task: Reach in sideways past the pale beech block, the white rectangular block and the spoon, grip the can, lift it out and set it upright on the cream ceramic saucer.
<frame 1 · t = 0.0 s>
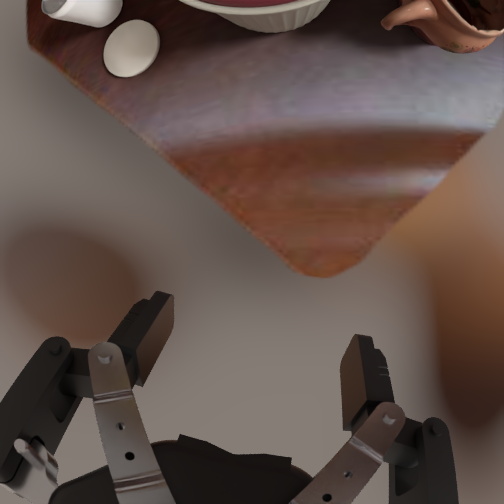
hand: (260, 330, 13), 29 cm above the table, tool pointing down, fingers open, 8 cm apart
can: (107, 10, 30), on the table
decorative planter: (423, 20, 25), on the table
cream saucer: (132, 48, 33), on the table
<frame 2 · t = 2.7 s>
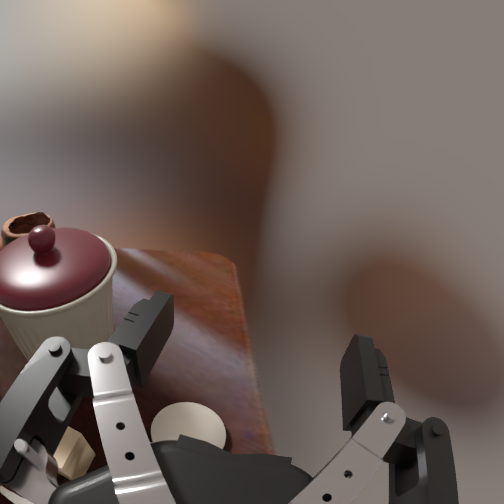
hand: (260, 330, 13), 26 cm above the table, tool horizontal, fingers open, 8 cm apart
white rectangular block: (48, 502, 17), on the table
beech block: (70, 460, 23), on the table
canister: (73, 358, 37), on the table
decorative planter: (43, 288, 48), on the table
cream saucer: (188, 435, 31), on the table
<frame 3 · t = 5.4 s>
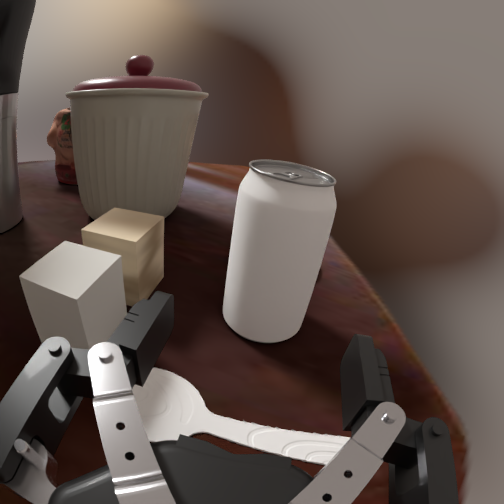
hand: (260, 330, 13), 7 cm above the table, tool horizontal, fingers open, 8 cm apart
can: (261, 319, 24), on the table
white rectangular block: (85, 335, 19), on the table
beech block: (127, 285, 25), on the table
spoon: (231, 434, 15), on the table
canister: (130, 213, 39), on the table
decorative planter: (87, 179, 50), on the table
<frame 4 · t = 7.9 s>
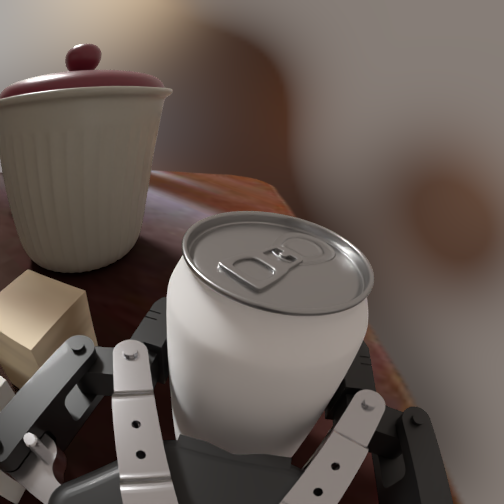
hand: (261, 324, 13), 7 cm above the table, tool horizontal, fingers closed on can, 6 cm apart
can: (233, 440, 14), on the table, touching gripper
white rectangular block: (3, 451, 9), on the table
beech block: (55, 374, 15), on the table
canister: (82, 249, 29), on the table
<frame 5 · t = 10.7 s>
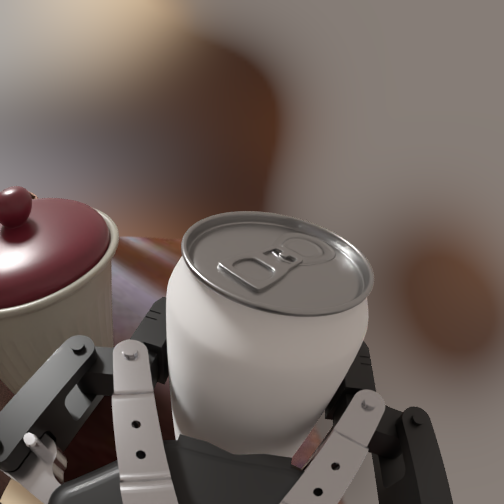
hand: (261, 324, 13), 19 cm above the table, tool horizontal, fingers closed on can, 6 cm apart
can: (233, 440, 14), point 11 cm above the table, touching gripper
canister: (62, 372, 27), on the table
when the fingers open (9 cm above the table, at t = 13.7 s): can drops 1 cm, resting on cream saucer.
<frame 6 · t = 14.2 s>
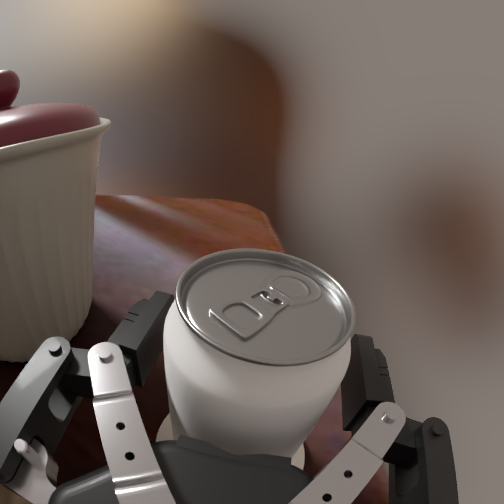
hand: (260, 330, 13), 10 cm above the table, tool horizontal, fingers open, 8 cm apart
can: (230, 451, 15), point 1 cm above the table, touching cream saucer
beech block: (5, 496, 8), on the table
canister: (31, 320, 21), on the table
cream saucer: (229, 454, 15), on the table
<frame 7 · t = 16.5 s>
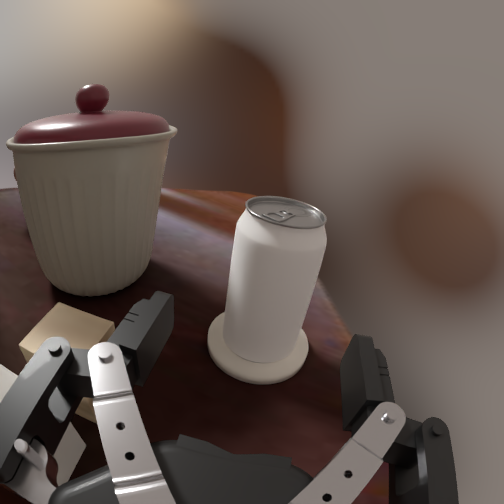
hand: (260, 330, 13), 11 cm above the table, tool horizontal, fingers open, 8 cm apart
can: (258, 340, 26), point 1 cm above the table, touching cream saucer
white rectangular block: (43, 455, 12), on the table
beech block: (85, 388, 19), on the table
canister: (97, 271, 32), on the table
cream saucer: (257, 345, 26), on the table
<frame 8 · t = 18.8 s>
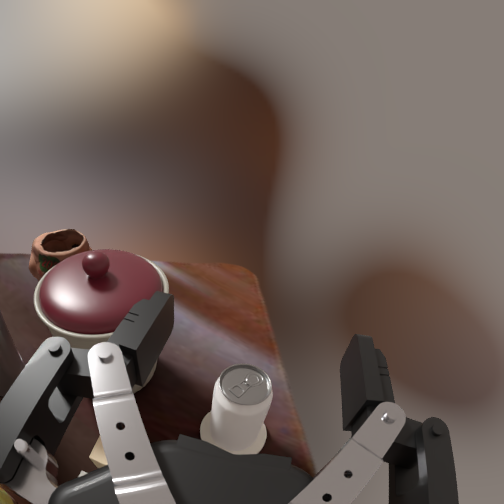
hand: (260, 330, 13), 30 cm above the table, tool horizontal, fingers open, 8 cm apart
can: (233, 432, 35), point 1 cm above the table, touching cream saucer
beech block: (126, 466, 28), on the table
canister: (116, 369, 42), on the table
decorative planter: (74, 302, 53), on the table
cream saucer: (232, 434, 36), on the table
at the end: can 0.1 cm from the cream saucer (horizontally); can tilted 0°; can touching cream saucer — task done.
